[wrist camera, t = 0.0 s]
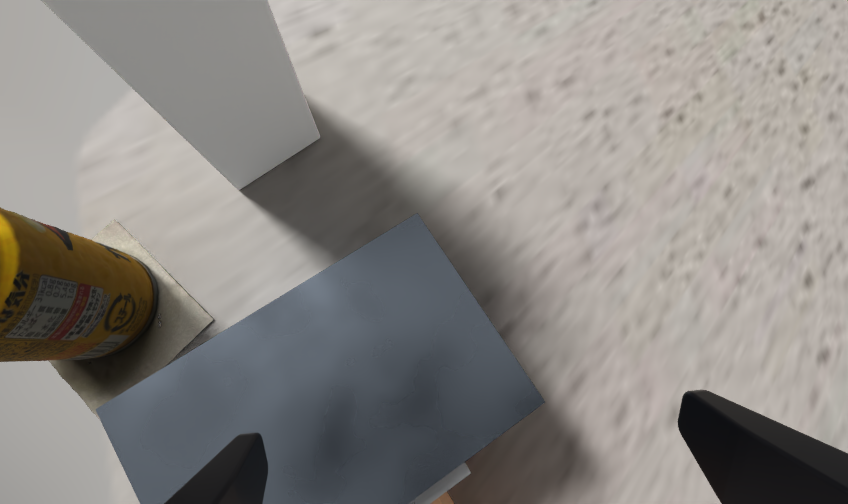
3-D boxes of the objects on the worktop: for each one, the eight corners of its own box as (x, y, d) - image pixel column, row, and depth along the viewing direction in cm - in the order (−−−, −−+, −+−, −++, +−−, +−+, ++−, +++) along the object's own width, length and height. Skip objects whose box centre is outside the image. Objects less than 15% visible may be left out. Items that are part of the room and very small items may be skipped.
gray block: (507, 395, 23) (554, 415, 16) (282, 557, 21) (218, 667, 14) (413, 252, 25) (417, 213, 18) (194, 389, 23) (95, 409, 15)
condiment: (116, 220, 25) (-143, 103, 13) (215, 319, 24) (29, 290, 12) (8, 312, 23) (-395, 275, 11) (107, 422, 22) (-223, 504, 10)
